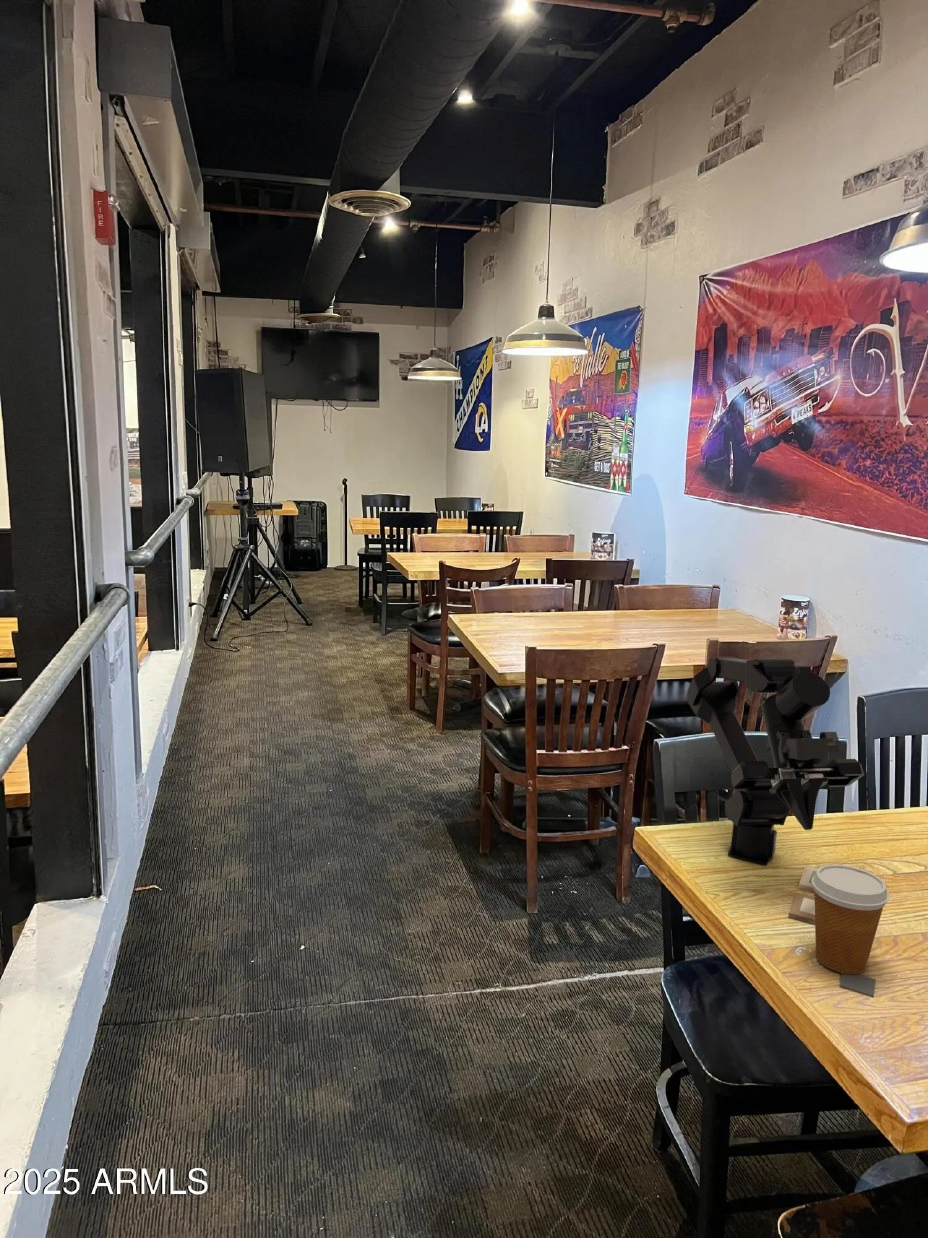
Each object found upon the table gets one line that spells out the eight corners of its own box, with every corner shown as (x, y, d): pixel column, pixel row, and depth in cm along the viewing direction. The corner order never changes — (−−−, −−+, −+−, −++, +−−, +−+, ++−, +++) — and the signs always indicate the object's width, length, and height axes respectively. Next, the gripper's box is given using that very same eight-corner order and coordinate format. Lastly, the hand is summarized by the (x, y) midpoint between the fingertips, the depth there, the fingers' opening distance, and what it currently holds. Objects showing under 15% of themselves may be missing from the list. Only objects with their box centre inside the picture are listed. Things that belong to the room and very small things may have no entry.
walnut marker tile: (788, 917, 126) (789, 912, 125) (795, 896, 132) (796, 891, 131) (839, 931, 122) (839, 926, 122) (844, 909, 128) (845, 904, 128)
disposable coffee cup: (803, 971, 112) (813, 887, 110) (803, 936, 121) (812, 857, 119) (882, 989, 109) (893, 902, 107) (876, 952, 118) (886, 871, 116)
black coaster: (839, 986, 110) (839, 985, 109) (842, 970, 113) (843, 969, 113) (873, 997, 108) (873, 996, 108) (875, 980, 111) (875, 979, 111)
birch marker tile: (798, 888, 134) (799, 883, 134) (805, 870, 140) (805, 865, 140) (846, 901, 131) (847, 895, 131) (850, 881, 137) (851, 876, 137)
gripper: (745, 713, 126) (766, 816, 118) (866, 710, 127) (895, 813, 119) (722, 739, 135) (740, 836, 128) (835, 736, 136) (860, 833, 129)
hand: (808, 829), depth 126 cm, fingers closed
